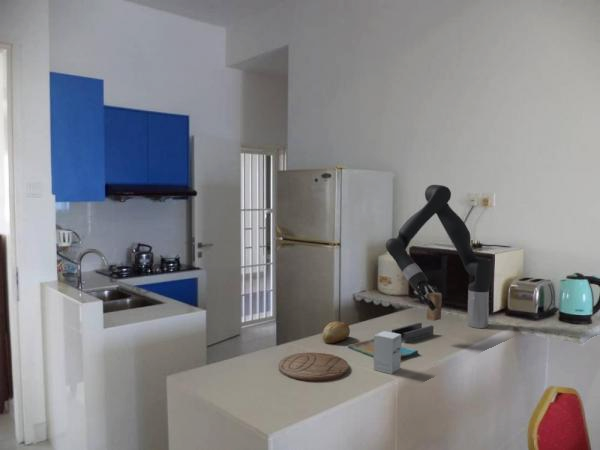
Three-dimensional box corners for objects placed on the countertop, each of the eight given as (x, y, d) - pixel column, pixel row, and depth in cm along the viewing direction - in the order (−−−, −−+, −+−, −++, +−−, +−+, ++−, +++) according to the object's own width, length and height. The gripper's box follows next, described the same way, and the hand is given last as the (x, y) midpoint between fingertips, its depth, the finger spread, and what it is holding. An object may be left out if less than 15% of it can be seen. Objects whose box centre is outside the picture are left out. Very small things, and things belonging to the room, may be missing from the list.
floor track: (419, 331, 216) (419, 322, 216) (433, 334, 210) (433, 326, 210) (391, 338, 204) (391, 329, 203) (405, 343, 198) (405, 333, 198)
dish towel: (389, 365, 172) (390, 358, 172) (346, 349, 191) (346, 343, 191) (420, 356, 182) (420, 350, 182) (376, 341, 201) (376, 336, 201)
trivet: (354, 361, 176) (354, 356, 176) (340, 386, 152) (340, 380, 152) (290, 354, 183) (290, 349, 183) (268, 377, 159) (268, 372, 159)
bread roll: (355, 338, 204) (356, 320, 204) (336, 346, 192) (336, 327, 192) (337, 334, 210) (337, 316, 210) (317, 342, 198) (317, 323, 198)
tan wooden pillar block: (433, 317, 201) (434, 292, 200) (440, 319, 198) (441, 293, 198) (426, 319, 198) (427, 293, 197) (434, 320, 195) (434, 294, 195)
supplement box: (391, 374, 162) (392, 338, 161) (372, 369, 166) (373, 334, 166) (401, 368, 168) (401, 333, 167) (382, 364, 172) (383, 330, 171)
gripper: (410, 272, 198) (433, 305, 190) (430, 269, 207) (453, 301, 199) (399, 283, 203) (422, 316, 194) (419, 279, 212) (442, 311, 203)
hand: (438, 308), depth 197 cm, fingers closed on tan wooden pillar block, 5 cm apart
